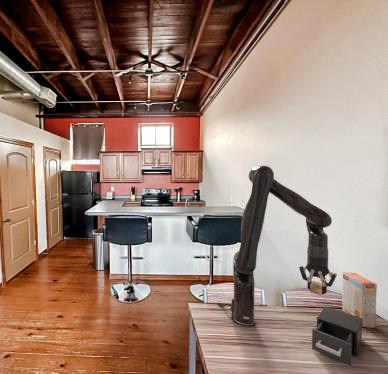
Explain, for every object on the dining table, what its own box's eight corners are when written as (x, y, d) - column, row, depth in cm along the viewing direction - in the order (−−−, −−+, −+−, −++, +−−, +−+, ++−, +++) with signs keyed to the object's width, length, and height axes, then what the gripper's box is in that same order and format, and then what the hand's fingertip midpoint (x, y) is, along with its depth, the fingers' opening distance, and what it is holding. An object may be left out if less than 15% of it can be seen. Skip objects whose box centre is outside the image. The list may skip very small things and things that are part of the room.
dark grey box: (356, 356, 89) (357, 332, 89) (316, 339, 99) (316, 317, 99) (361, 340, 99) (362, 318, 98) (324, 326, 108) (324, 306, 108)
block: (310, 292, 106) (310, 283, 106) (312, 289, 109) (312, 280, 109) (321, 295, 103) (321, 286, 103) (323, 292, 106) (323, 283, 106)
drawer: (348, 373, 80) (348, 351, 80) (308, 354, 89) (308, 334, 89) (356, 349, 92) (356, 329, 92) (320, 334, 101) (320, 317, 101)
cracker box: (376, 329, 106) (377, 283, 106) (361, 327, 108) (362, 282, 107) (354, 312, 120) (355, 272, 120) (341, 311, 121) (342, 271, 121)
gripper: (339, 256, 103) (338, 295, 103) (301, 249, 113) (300, 284, 114) (336, 260, 98) (335, 300, 98) (296, 252, 109) (296, 289, 109)
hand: (316, 291), depth 106 cm, fingers closed on block, 4 cm apart
